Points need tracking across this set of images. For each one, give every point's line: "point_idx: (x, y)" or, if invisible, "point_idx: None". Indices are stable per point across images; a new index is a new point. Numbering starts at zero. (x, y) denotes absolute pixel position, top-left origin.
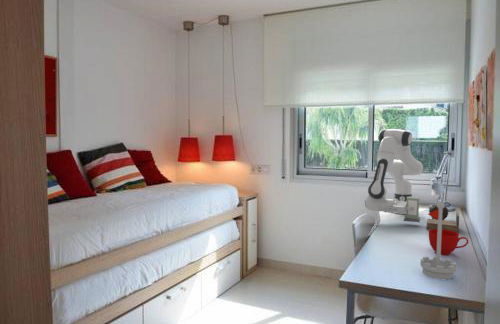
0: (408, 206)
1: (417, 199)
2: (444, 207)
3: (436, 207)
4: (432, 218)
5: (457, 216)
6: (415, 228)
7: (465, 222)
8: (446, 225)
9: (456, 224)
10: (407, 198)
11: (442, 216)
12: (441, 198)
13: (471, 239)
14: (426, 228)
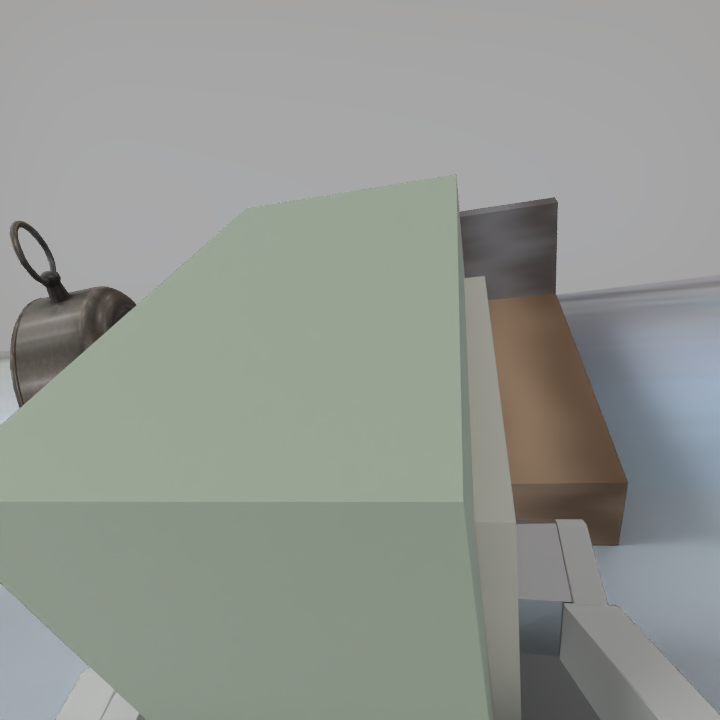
0: (520, 694)
1: (459, 224)
2: (127, 299)
3: None
4: None
5: (556, 207)
6: None
7: None
8: (570, 341)
9: (489, 300)
10: (466, 494)
11: None
12: (31, 227)
13: (717, 281)
14: (618, 536)
